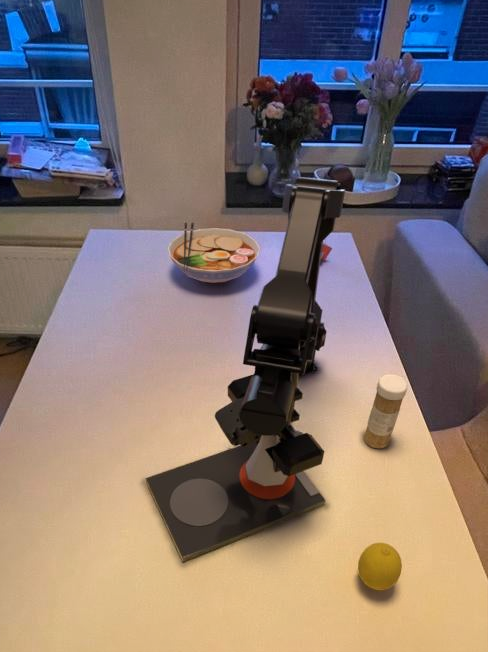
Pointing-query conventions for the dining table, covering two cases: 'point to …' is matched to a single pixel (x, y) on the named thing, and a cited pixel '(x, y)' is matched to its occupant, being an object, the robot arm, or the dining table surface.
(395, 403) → the sprinkles bottle
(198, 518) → the cooktop
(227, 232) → the ramen bowl
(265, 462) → the flask
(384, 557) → the lemon
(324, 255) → the geometric puzzle
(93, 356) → the dining table surface
